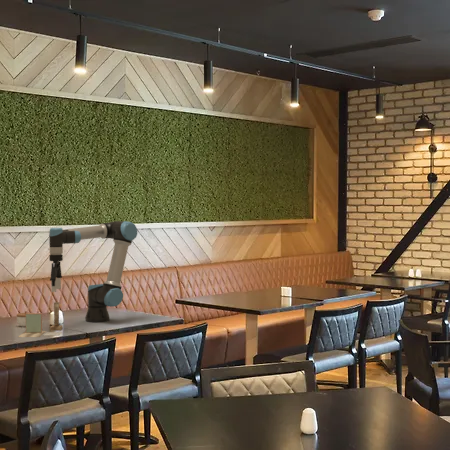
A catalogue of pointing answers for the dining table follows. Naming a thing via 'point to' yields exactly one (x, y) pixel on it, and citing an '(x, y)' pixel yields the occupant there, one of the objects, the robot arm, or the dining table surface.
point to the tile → (33, 322)
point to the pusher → (56, 319)
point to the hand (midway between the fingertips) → (56, 290)
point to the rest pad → (52, 333)
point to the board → (31, 334)
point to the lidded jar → (22, 319)
